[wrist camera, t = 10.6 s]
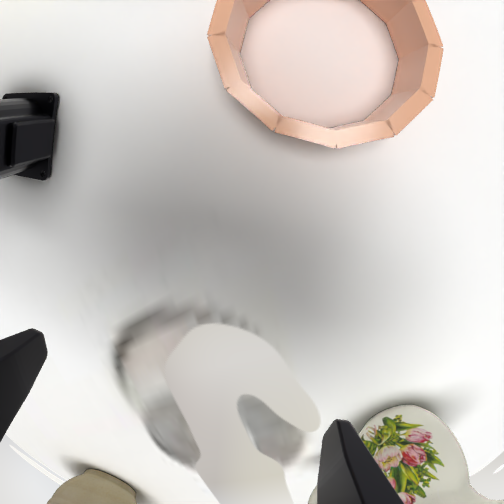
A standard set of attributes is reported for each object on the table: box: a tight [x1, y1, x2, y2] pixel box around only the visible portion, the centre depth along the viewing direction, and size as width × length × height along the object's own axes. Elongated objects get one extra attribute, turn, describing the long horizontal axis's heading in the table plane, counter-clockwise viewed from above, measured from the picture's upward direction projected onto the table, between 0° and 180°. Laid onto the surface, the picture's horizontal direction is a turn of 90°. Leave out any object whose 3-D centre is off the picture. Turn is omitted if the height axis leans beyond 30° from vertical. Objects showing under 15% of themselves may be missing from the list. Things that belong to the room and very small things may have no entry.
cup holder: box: [207, 0, 443, 149], centre depth 13 cm, size 11×11×4 cm
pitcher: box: [308, 405, 504, 504], centre depth 20 cm, size 11×18×14 cm, turn 127°
